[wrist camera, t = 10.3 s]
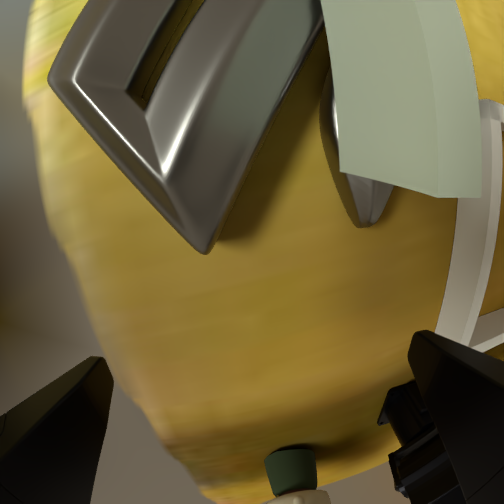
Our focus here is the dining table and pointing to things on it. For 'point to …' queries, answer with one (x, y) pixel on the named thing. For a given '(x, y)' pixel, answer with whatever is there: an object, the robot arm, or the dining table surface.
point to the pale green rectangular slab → (405, 95)
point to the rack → (476, 247)
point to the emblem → (197, 101)
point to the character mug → (294, 478)
